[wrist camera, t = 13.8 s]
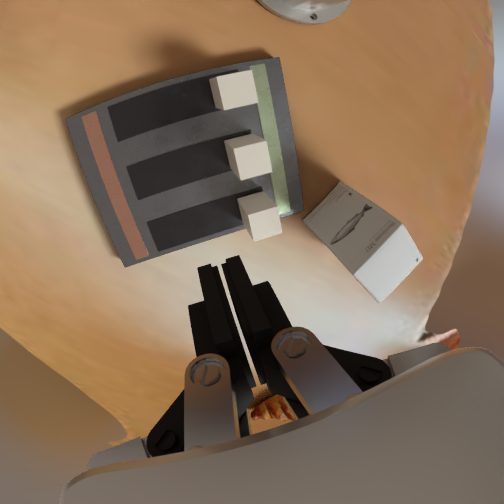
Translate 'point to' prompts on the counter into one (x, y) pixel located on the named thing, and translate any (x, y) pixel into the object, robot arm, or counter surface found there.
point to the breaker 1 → (234, 90)
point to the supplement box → (365, 240)
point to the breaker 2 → (248, 156)
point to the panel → (183, 160)
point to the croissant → (272, 409)
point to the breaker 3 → (260, 215)
